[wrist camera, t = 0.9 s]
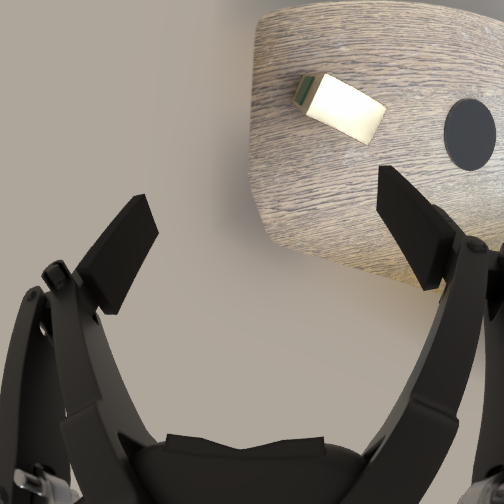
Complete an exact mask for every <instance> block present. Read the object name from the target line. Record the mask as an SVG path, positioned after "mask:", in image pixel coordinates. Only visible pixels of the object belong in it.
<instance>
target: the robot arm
mask: <svg viewBox="0 0 504 504" xmlns="http://www.w3.org/2000/svg"><path fill="white" fill-rule="evenodd" d="M376 211H377V212H378V214H379V215H380V217H381V218H382V220H383V221H384V223H385V224H386V226H387V228H388V229H389V231H390V232H391V234H392V236H393V237H394V239H395V240H396V242H397V244H398V245H399V247H400V249H401V251H402V252H403V254H404V256H405V257H406V259H407V261H408V263H409V264H410V266H411V268H412V270H413V272H414V274H415V275H416V277H417V279H418V281H419V283H420V285H421V287H422V289H423V290H424V291H426V290H431V289H437V288H439V285H440V282H441V279H442V277H443V279H444V280H445V282H446V286H445V289H444V291H443V294H442V296H441V298H440V301H439V303H440V304H439V307H438V310H437V313H436V316H435V318H434V321H433V324H432V327H431V329H430V332H429V334H428V337H427V339H426V342H425V344H424V347H423V349H422V351H421V354H420V356H419V358H418V360H417V363H416V365H415V367H414V369H413V371H412V374H411V376H410V377H409V379H408V381H407V384H406V385H405V387H404V390H403V392H402V393H401V395H400V397H399V399H398V400H397V402H396V404H395V406H394V407H393V409H392V411H391V413H390V414H389V416H388V418H387V419H386V421H385V423H384V425H383V426H382V428H381V429H380V430H379V432H378V433H377V434H376V436H375V437H374V438H373V440H372V441H371V442H370V444H369V445H368V447H367V448H366V449H365V451H364V452H363V454H362V455H359V454H358V453H356V452H354V451H352V450H350V449H347V448H344V447H341V446H337V445H333V444H326V443H324V437H316V438H305V439H292V440H281V441H277V442H273V443H269V444H266V445H262V446H257V447H252V448H248V449H235V448H232V447H228V446H225V445H222V444H219V443H215V442H212V441H209V440H206V439H203V438H198V437H189V436H181V435H173V434H167V437H166V441H164V442H159V443H157V442H156V440H155V439H154V438H153V437H152V436H151V435H150V434H149V433H148V431H147V430H146V428H145V426H144V424H143V423H142V421H141V419H140V417H139V415H138V413H137V411H136V409H135V407H134V404H133V402H132V400H131V398H130V396H129V394H128V392H127V389H126V387H125V385H124V382H123V380H122V378H121V375H120V373H119V370H118V368H117V365H116V363H115V360H114V358H113V355H112V352H111V350H110V347H109V344H108V342H107V339H106V336H105V333H104V330H103V327H102V324H101V321H100V318H99V316H98V314H97V313H96V310H97V308H98V306H99V307H100V308H101V310H102V311H103V312H104V314H107V315H112V314H113V315H117V314H118V312H119V310H120V308H121V305H122V303H123V301H124V299H125V297H126V295H127V293H128V291H129V289H130V287H131V285H132V283H133V281H134V279H135V277H136V275H137V273H138V271H139V269H140V267H141V265H142V263H143V261H144V259H145V258H146V256H147V254H148V252H149V250H150V248H151V247H152V244H153V243H154V241H155V239H156V238H157V236H158V234H159V232H158V229H157V227H156V224H155V221H154V219H153V216H152V213H151V210H150V208H149V205H148V202H147V199H146V197H145V194H141V195H136V196H133V197H132V199H131V200H130V201H129V202H128V203H127V204H126V205H125V207H124V208H123V209H122V210H121V211H120V212H119V214H118V215H117V216H116V217H115V218H114V220H113V221H112V222H111V223H110V224H109V226H108V227H107V228H106V229H105V231H104V232H103V233H102V234H101V236H100V237H99V238H98V240H97V241H96V242H95V243H94V245H93V246H92V247H91V248H90V249H89V251H88V252H87V253H86V255H85V256H84V257H83V259H82V260H81V262H80V263H79V264H78V266H77V267H76V269H75V270H74V271H73V273H72V274H71V273H70V272H69V270H68V268H67V267H66V265H65V263H64V261H63V260H57V261H55V262H53V263H51V264H50V265H49V266H48V267H47V268H46V269H45V270H44V271H43V273H42V276H41V277H42V278H43V280H44V281H45V283H46V284H47V286H48V287H49V289H50V290H51V291H49V292H46V293H44V292H43V290H42V289H41V287H40V286H35V287H33V288H30V289H29V290H28V291H27V292H26V294H25V296H24V297H23V300H22V303H21V306H20V309H19V312H18V315H17V318H16V322H15V325H14V329H13V333H12V336H11V340H10V345H9V349H8V353H7V358H6V363H5V368H4V374H3V379H2V386H1V394H0V504H419V502H420V500H421V499H422V497H423V496H424V494H425V493H426V491H427V489H428V488H429V486H430V484H431V483H432V481H433V479H434V477H435V476H436V474H437V472H438V470H439V468H440V467H441V465H442V463H443V461H444V459H445V457H446V455H447V453H448V450H449V448H450V446H451V444H452V442H453V440H454V438H455V435H456V433H457V430H458V427H459V420H458V419H457V417H456V414H457V411H458V408H459V405H460V402H461V400H462V396H463V394H464V391H465V388H466V384H467V381H468V378H469V375H470V371H471V367H472V364H473V361H474V357H475V353H476V348H477V344H478V340H479V335H480V329H481V324H482V318H483V316H484V328H485V354H486V370H485V392H484V404H483V414H482V422H481V428H480V434H479V440H478V445H477V450H476V456H475V462H474V466H473V475H472V484H471V486H470V487H469V489H468V490H467V491H466V493H465V494H464V495H462V497H461V498H460V499H459V501H458V503H457V504H504V243H503V244H502V246H501V249H500V251H499V252H498V251H492V250H489V249H488V246H487V245H486V243H484V242H483V241H482V240H481V239H479V238H477V237H474V236H466V234H465V233H464V232H463V231H462V230H461V229H460V228H459V226H458V225H457V224H456V223H455V222H453V220H452V219H451V218H450V217H449V215H448V214H447V213H446V212H445V211H444V210H443V209H441V208H440V207H438V206H436V205H435V204H431V203H430V202H429V201H428V200H427V199H426V198H425V197H424V196H423V195H422V194H421V193H420V192H419V191H418V190H417V189H416V188H415V187H414V186H413V185H412V184H411V183H410V182H409V181H408V180H406V179H405V178H404V177H403V176H402V175H401V174H400V173H399V172H398V171H397V170H396V169H395V168H393V167H392V166H391V165H390V166H379V173H378V193H377V207H376ZM40 326H41V328H42V329H43V330H44V331H45V335H43V334H42V332H41V330H40ZM65 408H66V412H67V417H66V414H65ZM70 464H71V467H72V469H73V472H74V475H75V477H76V480H77V482H78V485H79V487H80V490H81V492H82V494H83V497H81V498H80V497H79V494H78V493H77V492H76V491H75V490H73V489H70V482H71V477H70Z"/></svg>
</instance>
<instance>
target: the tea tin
mask: <svg viewBox="0 0 504 504" xmlns="http://www.w3.org/2000/svg"><path fill="white" fill-rule="evenodd" d="M291 101H292V102H293V103H294V104H295V105H296V106H297V107H298V108H299V109H300V110H301V111H302V112H303V113H304V114H305V115H306V116H309V117H311V118H313V119H315V120H317V121H320V122H322V123H324V124H326V125H328V126H330V127H332V128H334V129H336V130H338V131H340V132H342V133H344V134H346V135H348V136H350V137H352V138H354V139H356V140H357V141H359V142H361V143H363V144H365V145H366V146H368V145H369V143H370V141H371V139H372V138H373V136H374V134H375V132H376V130H377V128H378V126H379V124H380V122H381V120H382V118H383V116H384V114H385V112H386V110H387V107H386V106H384V105H383V104H381V103H379V102H378V101H376V100H375V99H373V98H371V97H370V96H368V95H366V94H364V93H363V92H361V91H359V90H357V89H356V88H354V87H352V86H350V85H348V84H346V83H344V82H343V81H341V80H339V79H337V78H335V77H333V76H331V75H329V74H327V73H314V74H303V76H302V78H301V80H300V82H299V84H298V87H297V89H296V91H295V93H294V95H293V98H292V100H291Z"/></svg>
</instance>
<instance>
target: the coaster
mask: <svg viewBox="0 0 504 504" xmlns="http://www.w3.org/2000/svg"><path fill="white" fill-rule="evenodd" d="M444 140H445V146H446V149H447V152H448V155H449V156H450V158H451V160H452V161H453V162H454V163H455V164H456V165H457V166H458V167H460V168H461V169H463V170H466V171H474V170H477V169H479V168H481V167H482V166H484V165H485V164H486V163H487V162H488V160H489V159H490V157H491V155H492V153H493V150H494V147H495V142H496V128H495V123H494V120H493V117H492V115H491V113H490V111H489V110H488V108H487V107H486V106H485V105H484V104H483V103H481V102H479V101H477V100H474V99H463V100H461V101H459V102H457V103H456V104H455V105H454V106H453V107H452V109H451V110H450V112H449V114H448V116H447V119H446V123H445V129H444Z"/></svg>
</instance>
